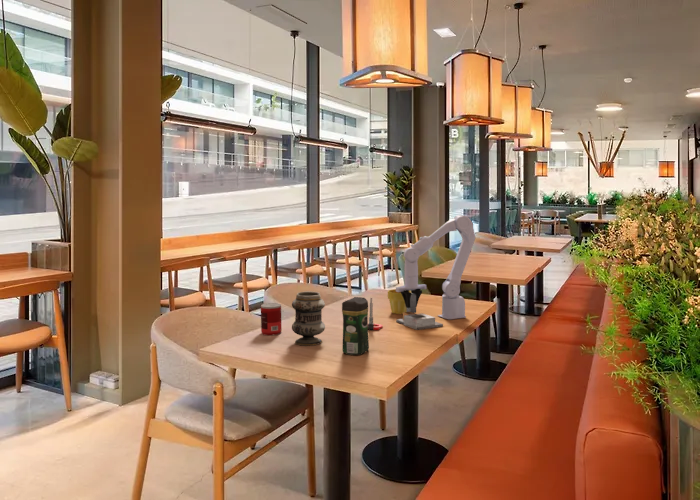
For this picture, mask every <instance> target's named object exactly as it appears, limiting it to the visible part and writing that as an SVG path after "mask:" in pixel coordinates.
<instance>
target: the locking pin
mask: <svg viewBox="0 0 700 500" xmlns="http://www.w3.org/2000/svg"><path fill="white" fill-rule="evenodd" d="M406 312H412V313H415V314H417V307H416V294H413V293H412V292H411V298H410V308H407V307H406Z"/></svg>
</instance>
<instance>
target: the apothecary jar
mask: <svg viewBox="0 0 700 500" xmlns="http://www.w3.org/2000/svg"><path fill="white" fill-rule="evenodd" d="M321 297H322V296H321V292H318V291H312V290H311V291H309V290H308V291H307V290H306V291H301V292H297V293H296V297H295V299H294V300H293V301H292V303H291V307H292V308H293V309H294V311H295V315H294V316H295V317H294V319H295V320H294V321H293V322H292V325H291V330H292V332H293V333H295V334H297V335H298V336H301V337H299V338H297V339H296V340H295V341H294V344H295V345H298V346H304V347H307V346H309V347H310V346H317V345H320V344H322V343H323V340H322V339H320V338H319V337H316V336H318V335H320V334H322V333H323V332H324V331H325V329H326V325H325V323H324V321H323V320H322V318H323V317H322V312H323V311H322V310H324V308H325V306H326V303H325V301H324V299H323V298H321Z"/></svg>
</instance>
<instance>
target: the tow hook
mask: <svg viewBox="0 0 700 500" xmlns="http://www.w3.org/2000/svg"><path fill="white" fill-rule="evenodd" d="M373 305H374V303H373V297H370V299H369V316H368V331H380V329H383V324H380V323H379V324H378V323H374V316H373V313H374V312H373Z"/></svg>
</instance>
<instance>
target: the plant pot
mask: <svg viewBox="0 0 700 500" xmlns="http://www.w3.org/2000/svg"><path fill="white" fill-rule="evenodd" d="M409 292H410V293H412V292H411V291H409ZM387 299H388V300H389V305H390V310H391V314H396V315H403V312H406V305H405V301H404V299H403V296H402V294H401V292H396V288H394V289H388V290H387Z"/></svg>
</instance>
